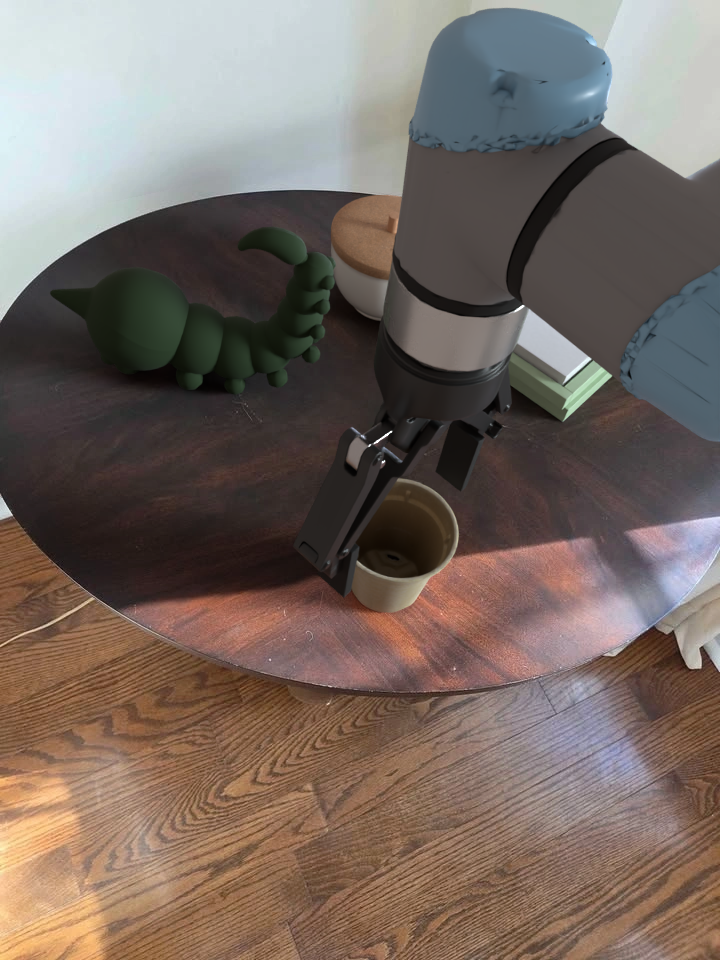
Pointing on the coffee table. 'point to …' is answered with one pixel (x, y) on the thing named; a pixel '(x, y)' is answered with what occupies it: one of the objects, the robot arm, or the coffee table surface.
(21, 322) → the coffee table surface
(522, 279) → the robot arm
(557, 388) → the scale
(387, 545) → the flower pot
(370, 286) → the lidded bowl
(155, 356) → the toy figurine
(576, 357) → the pan
